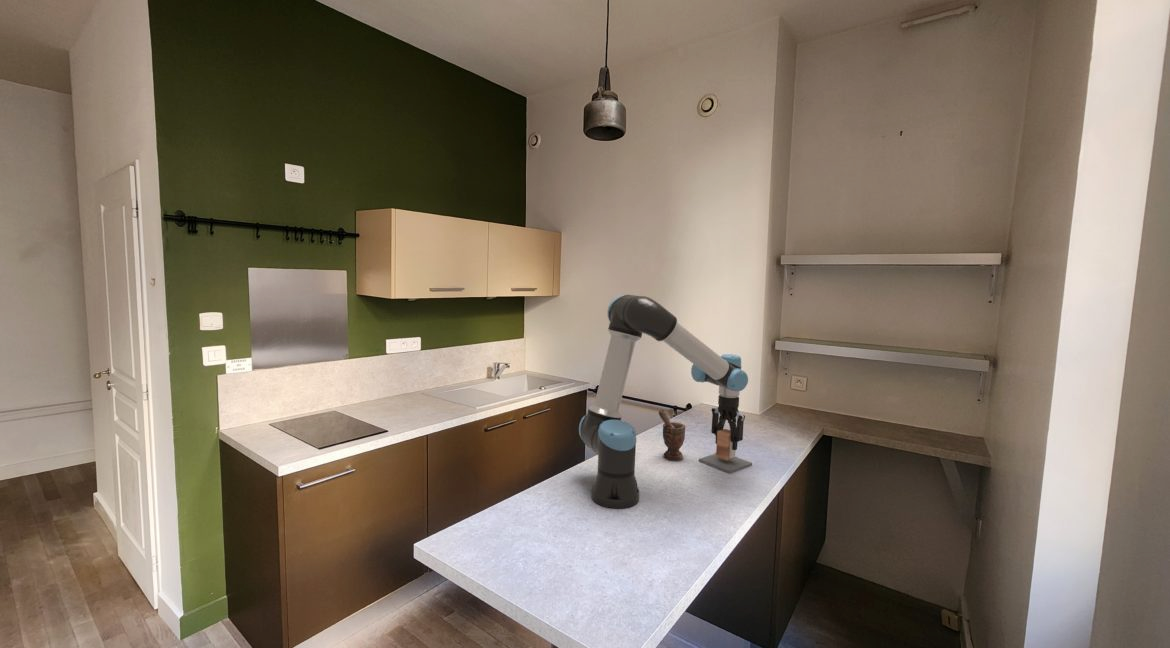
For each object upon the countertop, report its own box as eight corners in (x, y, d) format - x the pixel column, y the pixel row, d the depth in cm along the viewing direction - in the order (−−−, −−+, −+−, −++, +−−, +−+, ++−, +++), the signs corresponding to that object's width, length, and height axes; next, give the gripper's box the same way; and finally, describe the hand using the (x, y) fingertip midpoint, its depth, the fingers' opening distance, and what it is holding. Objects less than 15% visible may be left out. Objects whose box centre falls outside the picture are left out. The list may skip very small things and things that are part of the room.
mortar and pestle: (673, 465, 176) (676, 413, 174) (653, 459, 181) (655, 409, 179) (687, 457, 185) (690, 407, 183) (668, 452, 190) (670, 403, 188)
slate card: (729, 473, 170) (729, 471, 170) (698, 461, 181) (698, 458, 181) (752, 465, 178) (752, 462, 178) (721, 454, 189) (721, 451, 189)
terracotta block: (727, 460, 176) (728, 434, 175) (716, 456, 180) (717, 431, 179) (735, 457, 179) (736, 432, 178) (724, 453, 183) (725, 428, 182)
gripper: (755, 399, 172) (752, 460, 174) (715, 389, 187) (712, 446, 189) (743, 402, 168) (740, 465, 170) (703, 391, 182) (700, 450, 184)
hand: (725, 455), depth 179 cm, fingers closed on terracotta block, 5 cm apart
